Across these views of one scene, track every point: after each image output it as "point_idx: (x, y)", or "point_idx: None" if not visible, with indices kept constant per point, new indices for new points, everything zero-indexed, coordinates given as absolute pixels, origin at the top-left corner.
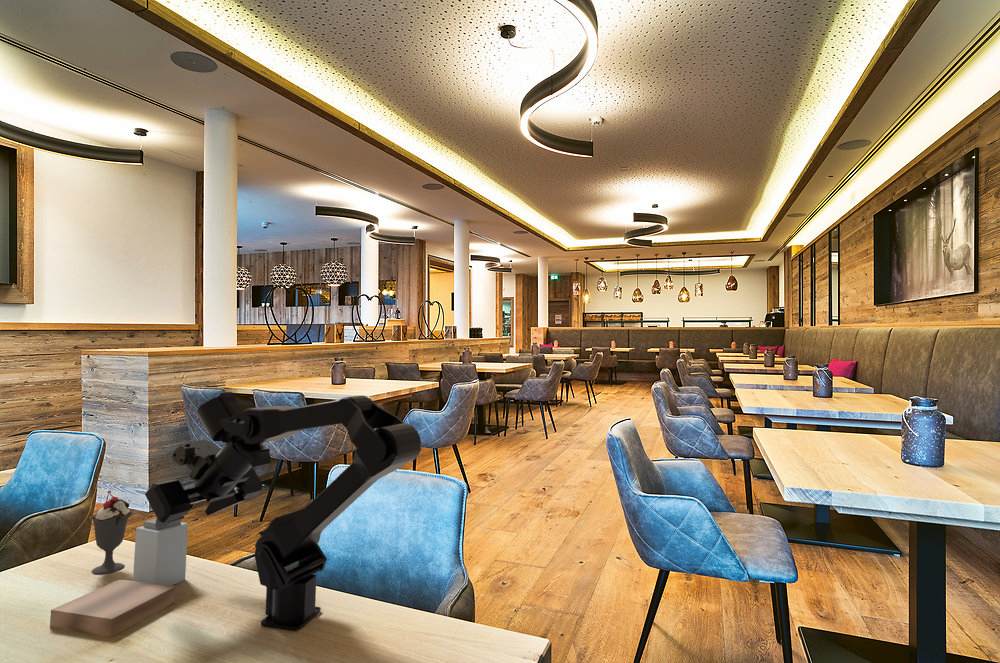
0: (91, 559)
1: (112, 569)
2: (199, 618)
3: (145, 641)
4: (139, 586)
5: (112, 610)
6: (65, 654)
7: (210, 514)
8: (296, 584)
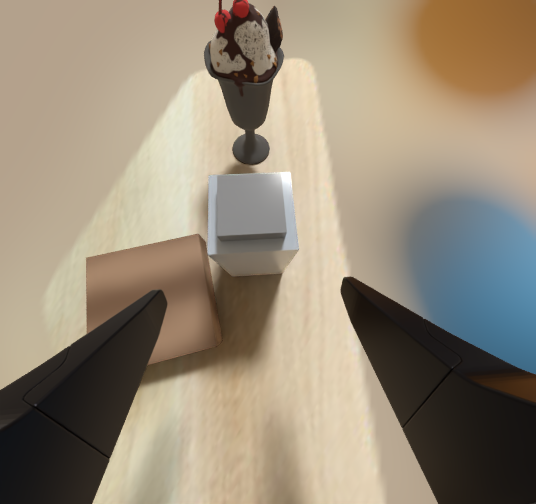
0: None
1: (248, 158)
2: (201, 442)
3: None
4: (192, 288)
5: None
6: None
7: (345, 306)
8: None
